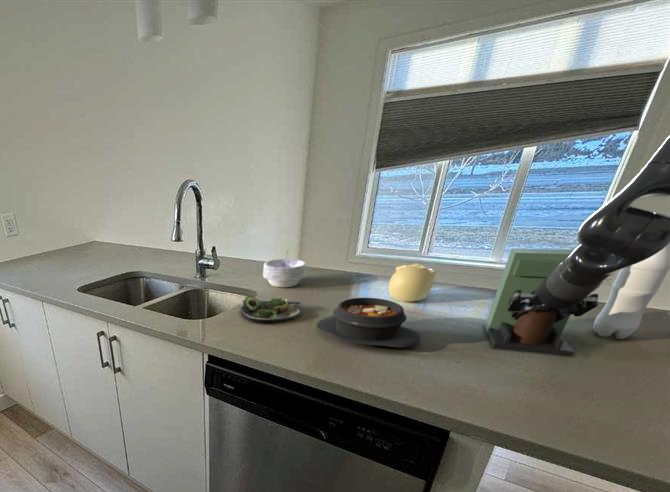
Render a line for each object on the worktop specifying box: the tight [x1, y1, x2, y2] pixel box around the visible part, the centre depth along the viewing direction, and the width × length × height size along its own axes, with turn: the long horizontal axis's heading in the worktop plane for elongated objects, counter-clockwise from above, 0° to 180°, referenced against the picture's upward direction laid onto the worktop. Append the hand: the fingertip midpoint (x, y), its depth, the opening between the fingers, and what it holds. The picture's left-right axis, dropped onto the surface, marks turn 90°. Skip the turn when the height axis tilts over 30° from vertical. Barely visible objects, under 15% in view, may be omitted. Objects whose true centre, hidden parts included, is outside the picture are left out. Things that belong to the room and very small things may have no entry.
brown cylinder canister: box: [511, 304, 559, 345], centre depth 94 cm, size 6×6×8 cm
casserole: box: [316, 297, 421, 349], centre depth 105 cm, size 25×19×8 cm
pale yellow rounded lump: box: [388, 263, 437, 302], centre depth 125 cm, size 12×12×11 cm
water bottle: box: [593, 243, 670, 340], centre depth 90 cm, size 7×7×25 cm
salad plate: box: [239, 295, 302, 324], centre depth 126 cm, size 19×18×5 cm
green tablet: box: [484, 248, 575, 357], centre depth 93 cm, size 14×14×20 cm
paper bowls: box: [262, 258, 308, 288], centre depth 149 cm, size 15×15×8 cm
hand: (534, 317), depth 94 cm, fingers closed on brown cylinder canister, 6 cm apart
